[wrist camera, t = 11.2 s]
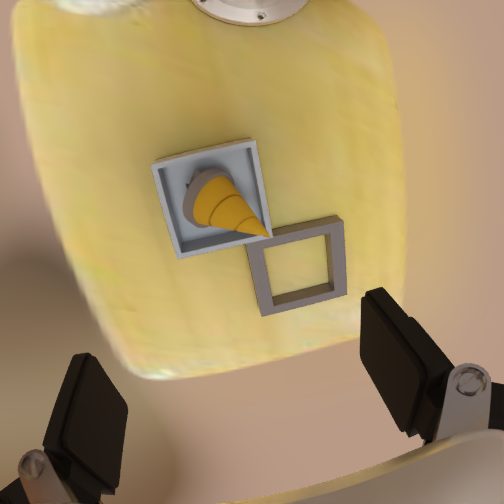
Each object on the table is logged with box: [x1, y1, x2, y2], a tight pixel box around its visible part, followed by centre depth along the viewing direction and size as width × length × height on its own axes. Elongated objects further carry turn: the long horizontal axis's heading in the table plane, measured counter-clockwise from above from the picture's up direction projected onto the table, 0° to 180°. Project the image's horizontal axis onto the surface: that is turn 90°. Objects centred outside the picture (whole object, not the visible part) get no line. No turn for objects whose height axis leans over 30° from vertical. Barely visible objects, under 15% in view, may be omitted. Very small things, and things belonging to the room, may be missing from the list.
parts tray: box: [151, 138, 273, 259], centre depth 29 cm, size 9×9×3 cm
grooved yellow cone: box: [182, 168, 270, 238], centre depth 27 cm, size 5×5×10 cm
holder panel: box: [245, 215, 347, 317], centre depth 34 cm, size 9×10×2 cm
